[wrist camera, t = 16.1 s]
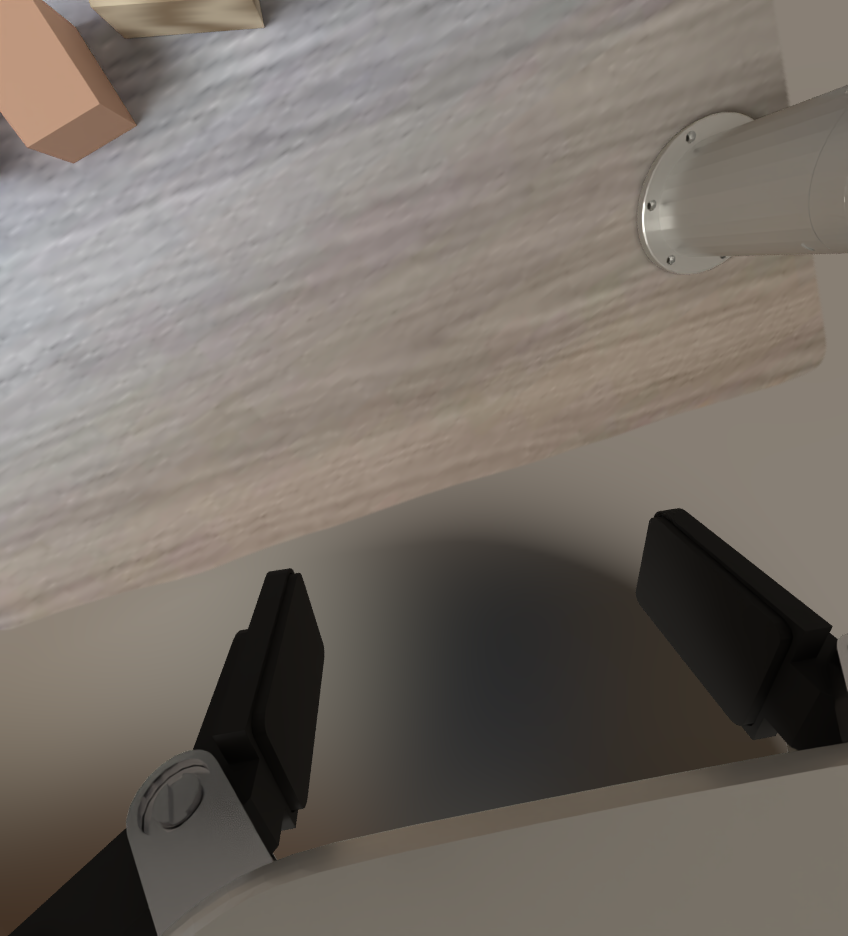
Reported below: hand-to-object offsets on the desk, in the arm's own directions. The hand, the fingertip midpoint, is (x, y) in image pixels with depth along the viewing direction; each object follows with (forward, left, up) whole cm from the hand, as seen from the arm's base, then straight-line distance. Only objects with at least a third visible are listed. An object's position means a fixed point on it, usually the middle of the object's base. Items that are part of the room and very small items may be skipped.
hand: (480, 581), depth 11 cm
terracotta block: (+22, -21, -34) cm, 46 cm away
